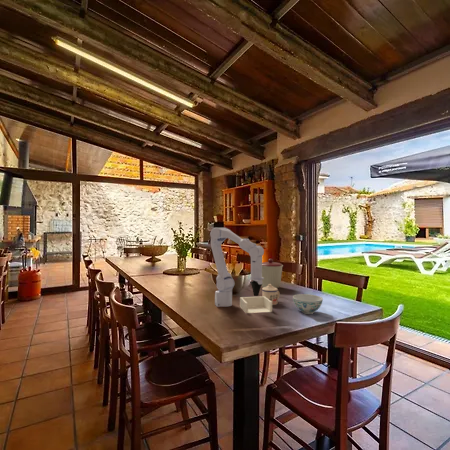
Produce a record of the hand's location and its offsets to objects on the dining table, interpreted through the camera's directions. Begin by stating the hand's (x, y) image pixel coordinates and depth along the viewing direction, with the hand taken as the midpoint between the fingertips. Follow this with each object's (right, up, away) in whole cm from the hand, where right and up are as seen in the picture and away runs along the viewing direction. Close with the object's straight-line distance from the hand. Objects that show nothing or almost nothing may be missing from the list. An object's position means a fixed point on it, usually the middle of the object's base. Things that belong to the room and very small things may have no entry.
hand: (256, 295), depth 149 cm
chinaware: (+27, -9, +1) cm, 28 cm away
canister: (+17, -9, +61) cm, 64 cm away
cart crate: (0, -9, +3) cm, 9 cm away
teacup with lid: (+11, -9, +16) cm, 21 cm away
